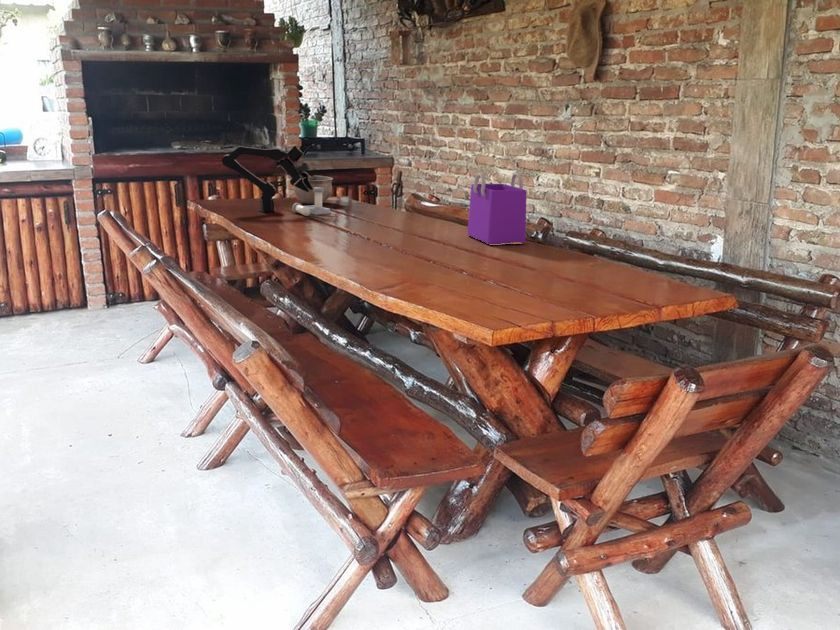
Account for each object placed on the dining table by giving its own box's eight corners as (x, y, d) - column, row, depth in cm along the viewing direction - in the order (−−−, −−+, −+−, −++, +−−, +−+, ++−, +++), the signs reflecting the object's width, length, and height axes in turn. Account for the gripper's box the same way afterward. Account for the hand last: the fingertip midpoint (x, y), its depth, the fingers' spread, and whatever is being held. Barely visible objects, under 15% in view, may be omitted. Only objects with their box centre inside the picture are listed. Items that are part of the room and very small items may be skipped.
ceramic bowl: (319, 200, 485) (319, 174, 481) (340, 204, 468) (340, 178, 465) (286, 202, 471) (286, 176, 467) (307, 207, 455) (306, 179, 451)
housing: (330, 213, 433) (330, 208, 433) (315, 214, 428) (315, 209, 427) (313, 209, 445) (313, 205, 445) (299, 210, 440) (299, 206, 439)
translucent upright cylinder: (318, 212, 430) (318, 188, 427) (311, 211, 433) (311, 187, 430) (325, 211, 434) (325, 188, 431) (318, 210, 437) (318, 187, 434)
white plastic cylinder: (307, 219, 423) (313, 211, 424) (300, 212, 420) (306, 204, 421) (297, 214, 433) (303, 206, 434) (290, 208, 430) (296, 200, 431)
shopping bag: (457, 237, 372) (460, 170, 364) (497, 234, 383) (500, 169, 375) (493, 247, 349) (497, 176, 341) (534, 244, 359) (539, 175, 352)
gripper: (296, 158, 418) (317, 181, 420) (305, 156, 436) (325, 178, 438) (281, 173, 421) (302, 196, 423) (290, 170, 439) (310, 192, 441)
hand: (310, 190), depth 431 cm, fingers open, 9 cm apart
